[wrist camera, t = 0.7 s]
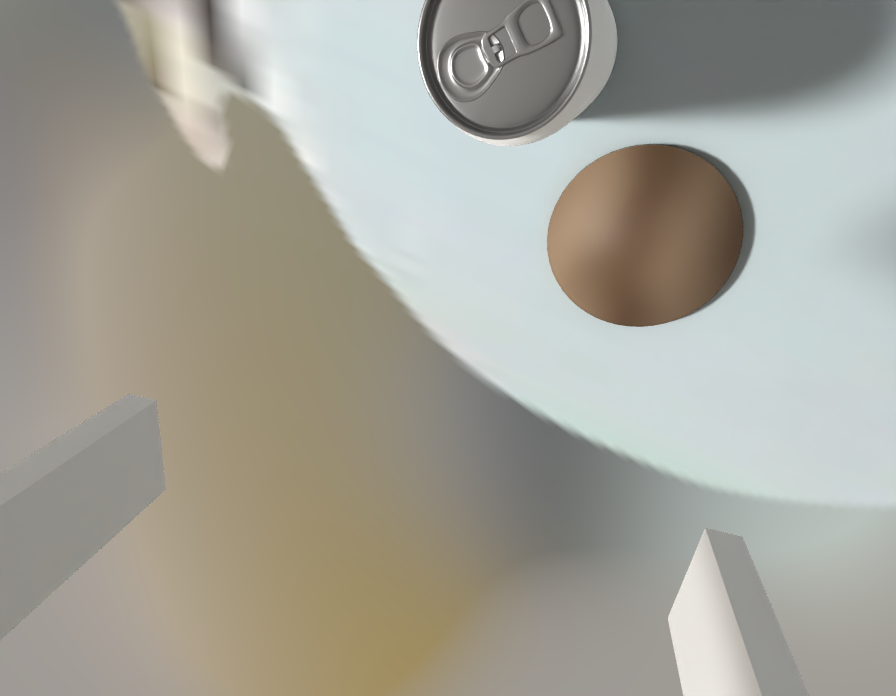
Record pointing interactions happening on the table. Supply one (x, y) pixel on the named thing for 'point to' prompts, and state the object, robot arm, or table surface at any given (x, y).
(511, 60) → the can
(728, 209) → the coaster
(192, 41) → the table surface
